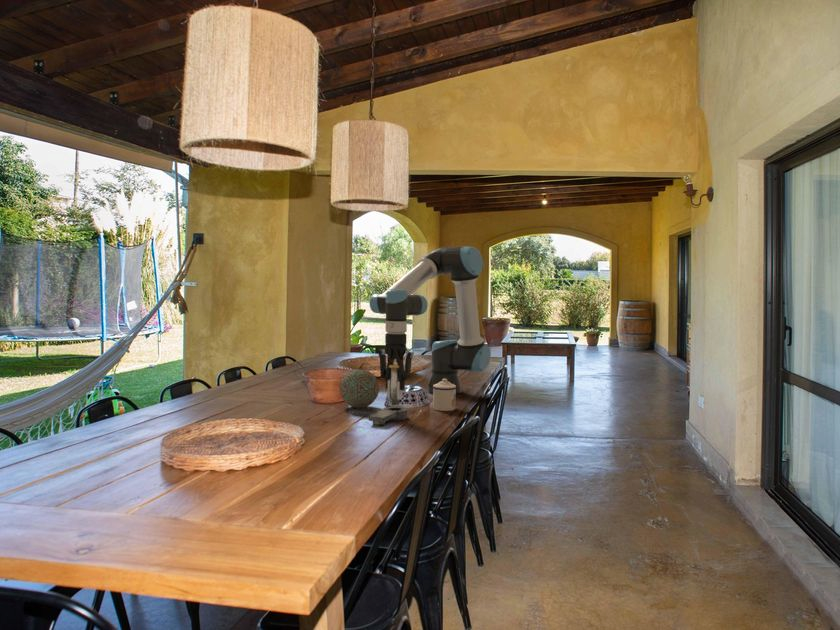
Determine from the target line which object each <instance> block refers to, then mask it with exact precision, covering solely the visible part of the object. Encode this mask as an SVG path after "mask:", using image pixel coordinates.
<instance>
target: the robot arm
mask: <svg viewBox="0 0 840 630" xmlns="http://www.w3.org/2000/svg"><path fill="white" fill-rule="evenodd" d="M483 267H484V260H483V256H482V254H481V251H479V249H478V248H476V247H474V246H468V245H467V246H466V245H464V246H460V245H459V246H441V247H439V248H436V249H434V250H432V251H430V252H429V253H427V254H426V255H424V256H423V257H422V258H420V259H419V260H418V262H417V264H416V265H415V266H414V267H413V268H412V269H410V270H409V271H407V273H406V274H405V275H403V276H402V277H401V278H400V279H399V280H397V281H396V282H395V283H393V285H392V286H390V287H389V288H388V289H386V290H385V291H384V292H383V293H379V292H378V293H374V294H373V295H371V297H370V299H369V309H370V310H371V312H373V313H374V314H380V315H385V332H386V333H385V335H384V339H385V340H384V342H385V346H384V348H383V349H379V350H377V354H378V357H379V368H380V377H381V379H382V378H383V379H384V380H385V389H387V397H386V398H387V399H388V400H390V389H391V369H390V368H389V365H391V364H395V362H396V364H397V365H399V369H398V373H399V381H397V400H399V401H400V400H401V399H403V391H405V388H406V387H405V384H406V380H410V379H411V369H412V360H413V356H414V353H415V352H413V351H410V350H408V347H407V334H406V333H407V330H408V329H407V328H408V325H407V323H408V321H407V320H408V318H407V317H408V316H421V315H423V314H425V313H426V312H427V309H428V305H429V304H428V300H427V299H426V297H425V296H424V295H421V294H413V293H415V292H416V291H417V290H418V289H419V288H420V287H422V286H423V285H424V284H425V283H426V282H427V281H429V280H433V279H434V278H436V277H437V276H442V275H443V276H444V275H447V276H448V275H449V277H450V281H451V282H452V283H453V284H454V290H455V298H456V299H455V300H456V310H457V319H458V329H459V339H447V340H438V341H434V342H433V343H432V345H431V346H432V347H431V375H430V378H429V381H428V383H427V392H428V393H429V394H433V385H434V384H437V383H439V382H441V381H442V379H447V381H448V382H450V383H451V384H454V385H456V395H459V394H461V393H462V385H461V382H460V378H459V374H458V373H459V371H463V372H464V371H465V372H472V373H481V372H484V371H486V369H487V368H488V366H489V364H490V361H491V357H492V356H491V354H492V351H491V348H490V347H489V346H488V345H486V344H485V339H484V338H483V337H482V336H481V330H480V318H479V309H478V298H477V285H476V281H477V280H478V279H479V275H480V274H481V273H482V271H483ZM386 355H387V357H386ZM404 356H405V359H404ZM404 360H405V361H404ZM404 362H405V364H404Z"/></svg>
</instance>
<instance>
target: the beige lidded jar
mask: <svg viewBox="0 0 840 630" xmlns="http://www.w3.org/2000/svg"><path fill="white" fill-rule="evenodd" d="M432 394H433V395H432V409H433V410H434V411H440V412H452V411H455V410H456V396H457V394H456V385H454V384H451V383H450V382H448V381H447V379H442V381H441V382H439V383H437V384H434V385H433V393H432Z"/></svg>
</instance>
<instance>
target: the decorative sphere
mask: <svg viewBox="0 0 840 630" xmlns="http://www.w3.org/2000/svg"><path fill="white" fill-rule="evenodd" d="M340 381H341V382H340V385H339V392H340V396H341V399H343V401H344V402H345V404H346V405H348V406H350V407H352V408H355V409H357V408H360V407H361V408H367V407H369V406H371V405H372V404H373V403H374V402H375V400H377V398H378V396H379V394H380V393H379V392H380V385H379V380H378V378H377V377H376V376H375V375H374V373H373V372H371V371H369V370H368V369H365V368H355V369H352V370H350V371H348V372H347V373H345V375H344V376H343V377H342V379H341V380H340Z"/></svg>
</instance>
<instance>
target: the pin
mask: <svg viewBox="0 0 840 630" xmlns="http://www.w3.org/2000/svg"><path fill="white" fill-rule="evenodd" d="M389 368H390V369H391V379H390V380H391V389H390V399H389V401H390V402H389V405H391V406H398V405H400V400H397V381H399V373H398V369H399V365H397V363H393V364H391V365H389Z"/></svg>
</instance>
